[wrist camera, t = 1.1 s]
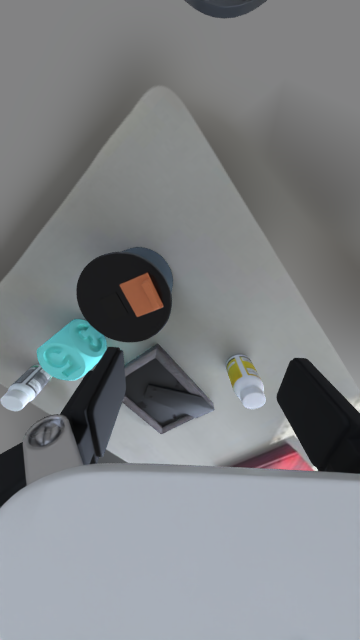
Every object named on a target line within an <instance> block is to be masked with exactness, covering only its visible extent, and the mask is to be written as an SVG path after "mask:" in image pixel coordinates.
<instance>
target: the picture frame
mask: <svg viewBox="0 0 360 640" xmlns="http://www.w3.org/2000/svg"><path fill="white" fill-rule="evenodd" d="M124 369H125V381H126V391H125V395H124V398H123V401H122V402H123V403H124V404H125V405H126V406H127V407H129V408H130V409H131V410H132V411H133V412H135V413H136V414H137V415H138V416H140V417H141V418H142V419H143V420H144V421H146V422H147V423H148V424H149V425H150V426H152V427H153V428H154V429H155V430H156V431H158V432H159V433H160V434H163V433H165V432H167V431H169V430H171V429H173V428H175V427H177V426H179V425H181V424H183V423H186V422H188V421H190V420H192V419H194V418H198V417H200V416H202V415H204V414H207V413H209V412H211V411H213V410H214V405H213V402H212V401H211V400H210V399H209V398H208V397H207V396H206V395H205V394H204V393H203V392H202V391H201V389H200V388H199V387H198V386H197V385H196V384H195V383H194V382H193V381H192V380H191V379H190V378H189V377H188V376H187V375H186V373H185V372H184V371H183V370H182V369H181V368H180V367H179V366H178V365H177V364H176V363H175V362H174V361H173V360H172V358H171V357H170V356H169V355H168V354H167V353H166V352H165V351H164V350H163V349H162V348H161V347H160V346H159V345H158V344H156V345H155V346H153V347H152V348H150V349H149V350H147V351H146V352H144V353H143V354H141V355H140V356H138V357H137V358H135V359H134V360H132V361H131V362H129V363H128V364H126V365H124Z"/></svg>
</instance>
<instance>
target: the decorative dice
mask: <svg viewBox="0 0 360 640" xmlns="http://www.w3.org/2000/svg"><path fill="white" fill-rule="evenodd" d="M106 350H107V345H106V340H105V337H104V335H103V334H101V333H100V332H98V331H97V330H96V329H94V328H93V327H92V326H91V325H90V324H89V323H88V321H86V320H82V319H74V320H72V321H71V322H70V323H69V324H67V325H66V326H65V327H64V328H62V329H61V330H60V331H59V332H57V333H56V334H55V335H54V336H53V337H51V338H50V339H49V340H48V341H46V342H45V343H44V344H43V345H42V346H40V347H39V348H38V349H37V358H38V361H39V364H40V365H41V367H42V368H43V369H44V371H46V372H47V373H48V374H49V375H51V376H53V377H55V378H57V379H61V380H77V379H79V378H81V377H82V376H84V375H85V374H86V373H87V372H88V371H90V370H91V369H92V368H93V367H94V366H95V365H96V364H97V363H98V362H99V361H100V359H101V358H102V356H103V354H104V353H105V351H106Z"/></svg>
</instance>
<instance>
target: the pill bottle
mask: <svg viewBox="0 0 360 640" xmlns="http://www.w3.org/2000/svg"><path fill="white" fill-rule="evenodd" d="M51 377H52V376H51V375H49V374H48V373H47V372H46V371H44V369H43V368H42V367H41V365H34V366H32V367H31V368H29V369H28V370H27V371H26V372H25V373H24V374H23V375H22V376H21V377H20V378H19V379H18V380H17V381H16V382H15V383H13V384H12V385H11V386H10V388H9V389H8V392H7V393H6V394H5V395H4V396H3V397H2V398H1V400H0V401H1V404H2V405H3V406H4V407H5V408H7V409H9V410H12V411H19V410H21V409H23V408H24V406H25V405H26V404H27V403H28V402H30V401H32V400H33V399H34V398H35V397H36V395H37V394H38V393H39V392H40V391H41V390H42V388H43V387H44V386H45V385H46V384H47V383H48V381H49V380H50V379H51Z"/></svg>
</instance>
